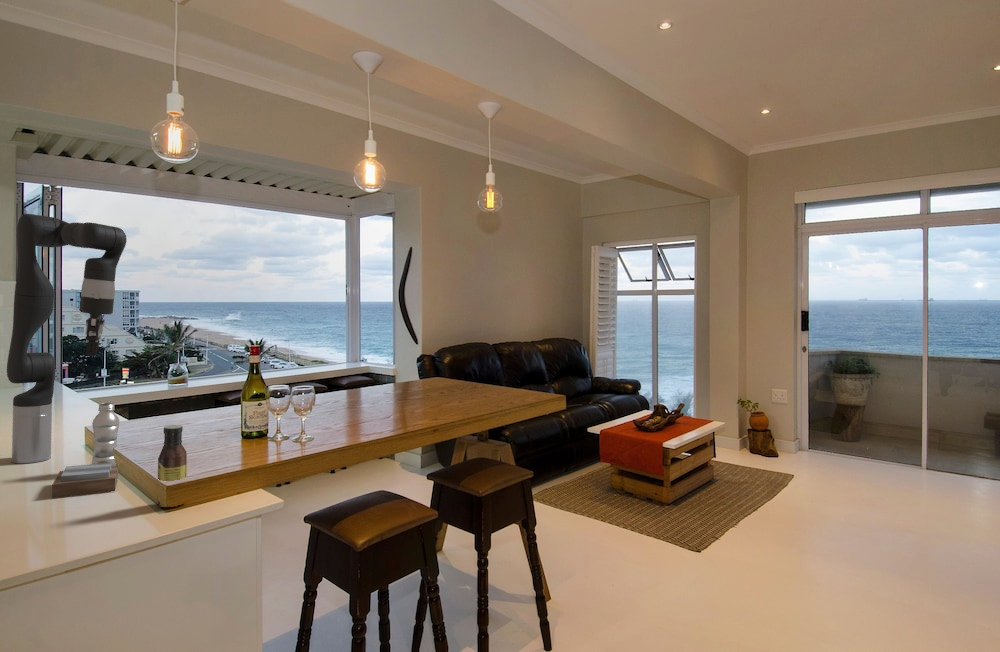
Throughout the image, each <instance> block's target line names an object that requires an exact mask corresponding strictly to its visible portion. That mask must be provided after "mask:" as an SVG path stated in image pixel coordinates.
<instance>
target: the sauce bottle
mask: <svg viewBox="0 0 1000 652" xmlns="http://www.w3.org/2000/svg"><path fill="white" fill-rule="evenodd" d="M183 428H184V427H183V425H181V424H169V425H165V426H164V427H163V435H164V439H163V440H164V441H163V446H162V448H161V451H160V453H159V456H158V458H157V480H158V479H159V480H162V481H174V480H180V479H183V478H185V477H187V478H188V460H187V459H188V458H187V455H188V453H187V450H186V449H185V447H184V446H183V444H182V443H183V440H182V439H183V438H182V437H183V434H182V433H183V430H184V429H183ZM157 503H158V507H160V508H161V505H160V501H159V498H158V497H157Z"/></svg>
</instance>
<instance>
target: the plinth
mask: <svg viewBox="0 0 1000 652" xmlns="http://www.w3.org/2000/svg"><path fill="white" fill-rule="evenodd" d="M111 463H112V462H111ZM111 463H100V464H89V463H88V464H80V465H69V466H65V468H64V469H63V470H59V472H58V473H57V475H56V476H55V479H54V480H53V483H52V485H51V499H60V498H68V497H77V496H79V497H80V496H88V495H97V494H105V492H106V493H112V492H111V491H115V492H116V489H117V483H118V480H117V479H119V465H118V466H111ZM87 494H88V495H87Z"/></svg>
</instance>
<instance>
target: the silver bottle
mask: <svg viewBox="0 0 1000 652" xmlns="http://www.w3.org/2000/svg"><path fill="white" fill-rule="evenodd" d="M115 408H116V407H115V403H114V402H104V403H100V404H98V409H97V410H98V411H99V412H98V414H96V416H95V417H94V418H93V420H92V422H91V425H92V431H93V440H94V442H93V443H94V448H93V455H92V456H93V457H92V459H91V464H100V463H111V462H112V463H111V466H116V463H115V458H114V454H113V448H116V447H117V448H118V443H117V442H118V440H117V439H118V432H119V426H120V418H119V417H118V416H117V414H116V413H115V412H114V411H115Z"/></svg>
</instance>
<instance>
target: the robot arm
mask: <svg viewBox="0 0 1000 652" xmlns="http://www.w3.org/2000/svg"><path fill="white" fill-rule="evenodd" d="M126 245H127V235H126V233H125V231H124V230H123V229H122V228H121V227H117V226H112V225H107V224H101V223H97V222H96V223H95V222H67V221H65V220H63V219H59V218H57V217H53V216H47V215H40V214H32V213H24V214H21V216H20V217H19V219H18V220H17V225H16V253H17V254H16V255H17V256H16V261H17V262H16V263H17V264H16V266H17V267H16V278H15V286H14V287H15V288H14V296H13V297H14V298H13V315H12V316H13V317H12V318H13V319H12V321H13V322H12V332H11V337H10V338H11V339H10V344H9V349H8V355H7V356H8V357H7V363H6V376H7V379H8V381H9V382H10V383H12V384H18V385H19V384H32V383H34V386H33V387H31V388H29V389H28V390H27V391H24V392H21V393H18V394H17V395H14V397H13V399H12V435H11V438H12V440H11V462H12V463H14V464H30V463H38V462H44V461H47V460H49V459H51V458H52V430H53V429H52V428H53V427H52V426H53V425H52V423H53V422H52V421H53V419H52V417H53V397H54V392H55V391H54V390H55V377H56V359H55V357H54V355H53V354H52V353H50V352H47V351H46V352H28V349H29V345H30V342H31V341H32V339H33V338H34V336H35V334H36V333H37V332H38V330H39V329H40V328H41V327H42V326H43V325H44V324H45V323H46V322H47V321H48V320H49V319H50V317H51V315H52V313H53V311H54V304H55V303H54V302H55V289H54V287H53V285H52V283H51V281H50V280H49V278H48V277H47V275H46V274H45V272H44V271H43V269H42V268H41V267H40V264H39V261H38V257H37V253H36V247H44V248H45V247H46V248H61V247H64V246H71V247H77V248H81V249H94V250H100V251H105V252H104V254H103V255H102V256H101V257H100V256H99V257H90V258H88V259H87V258H86V260H85V262H84V270H83V271H84V272H83V280H82V284H81V289H80V290H81V291H80V300H79V301H80V302H79V312H80V313H83V314H89V317H88V318H87V319H86V320H85V341H86V350H85V355H86V356H87V357H95V356H97V353H98V352H99V348H100V339H101V338H102V334H103V332H104V326H105V320H104V317H103V316H102V315H112V314H114V313H113V312H114V304H115V302H114V301H115V294H116V293H115V292H116V287H115V281H116V271H117V267H118V264H119V261H120V259H121V256H122V254H123V252H124V251H125V250H124V249H125V248H126Z"/></svg>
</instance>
